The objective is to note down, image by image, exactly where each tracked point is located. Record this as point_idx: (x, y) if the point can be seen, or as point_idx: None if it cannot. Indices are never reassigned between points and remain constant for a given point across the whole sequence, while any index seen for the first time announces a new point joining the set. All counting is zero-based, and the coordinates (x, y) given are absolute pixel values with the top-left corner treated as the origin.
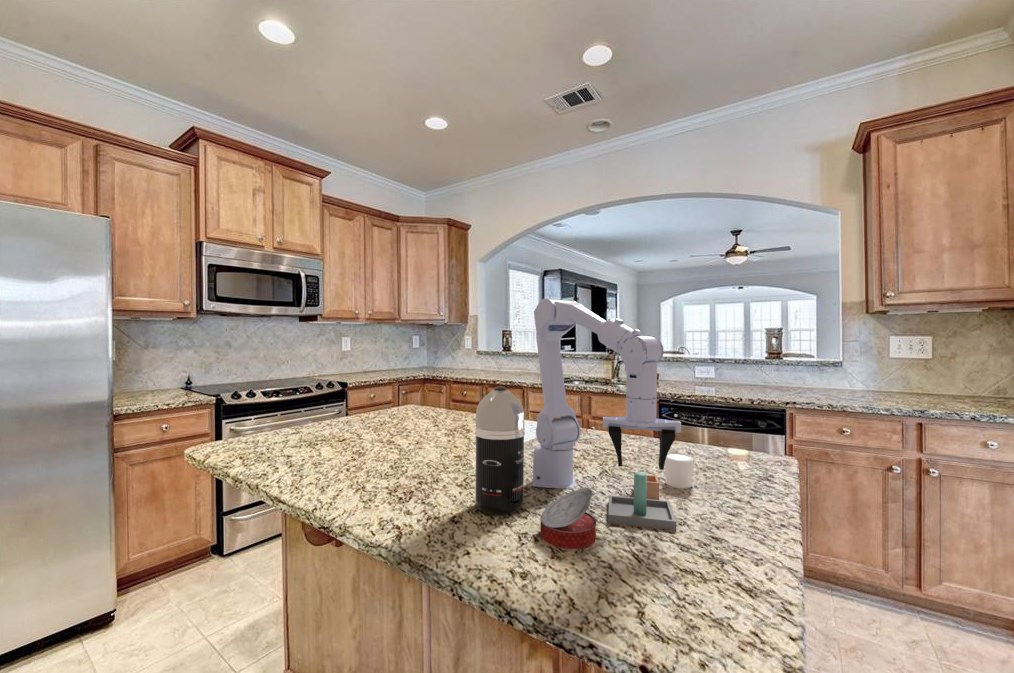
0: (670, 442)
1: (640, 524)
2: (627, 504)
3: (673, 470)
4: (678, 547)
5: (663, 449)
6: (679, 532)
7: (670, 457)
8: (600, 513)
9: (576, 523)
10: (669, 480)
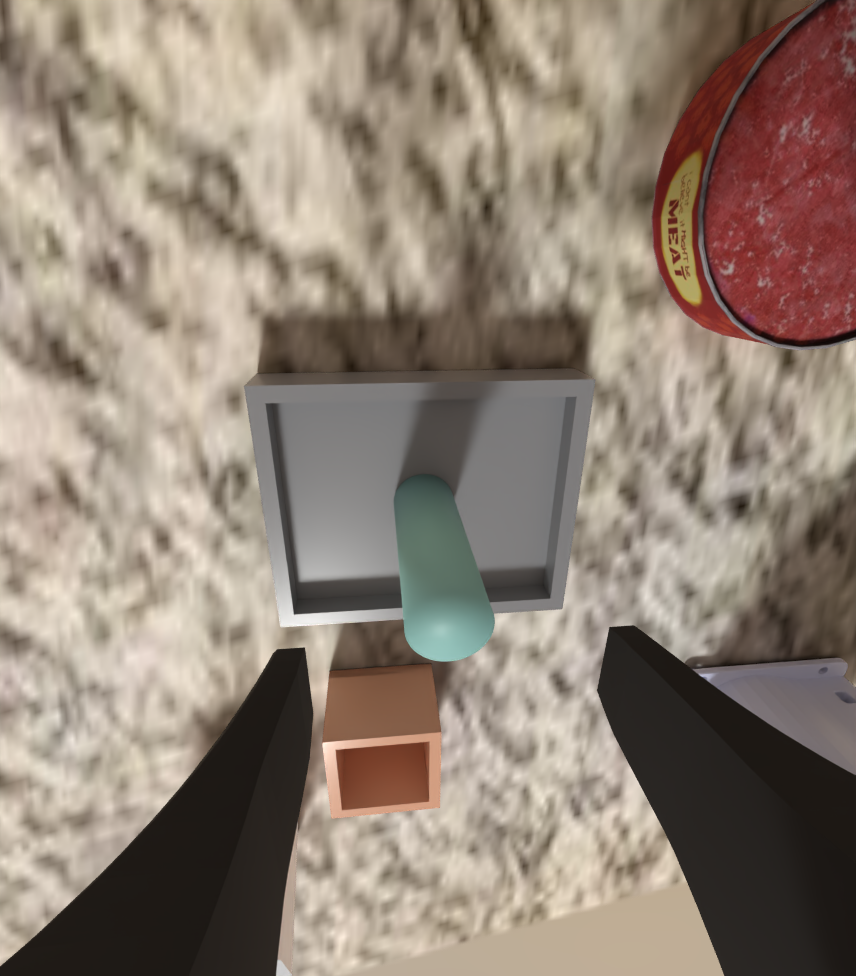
0: (58, 946)
1: (428, 375)
2: None
3: None
4: (246, 195)
5: (222, 814)
6: (242, 382)
7: None
8: (594, 486)
9: (814, 148)
10: None
